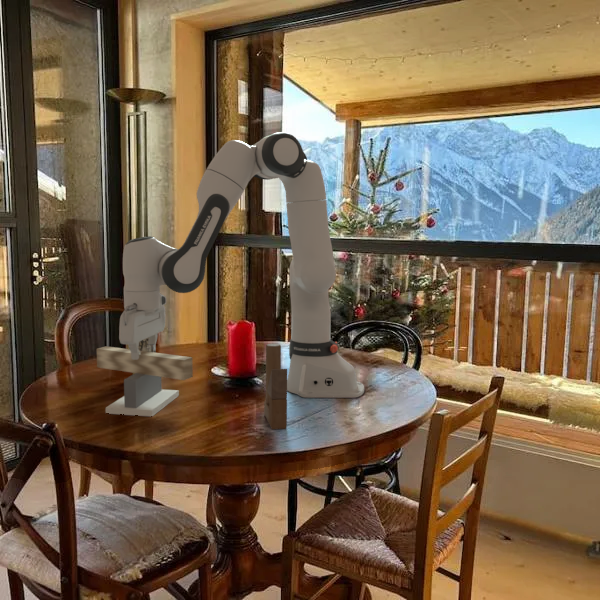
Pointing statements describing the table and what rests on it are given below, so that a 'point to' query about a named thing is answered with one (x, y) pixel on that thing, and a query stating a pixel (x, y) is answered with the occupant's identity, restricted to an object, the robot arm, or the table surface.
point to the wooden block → (275, 388)
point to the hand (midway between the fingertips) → (144, 354)
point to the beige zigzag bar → (145, 363)
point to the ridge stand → (142, 396)
